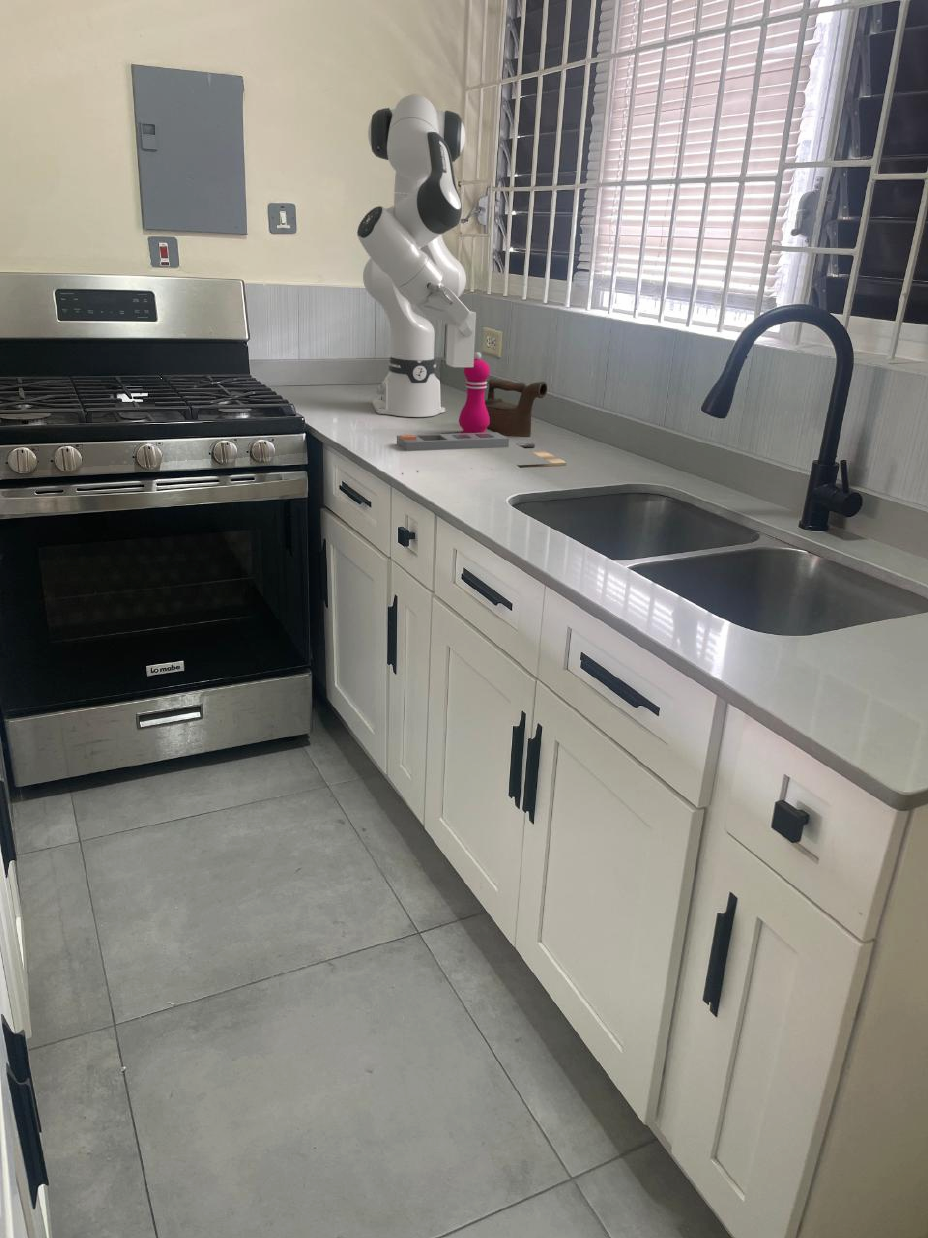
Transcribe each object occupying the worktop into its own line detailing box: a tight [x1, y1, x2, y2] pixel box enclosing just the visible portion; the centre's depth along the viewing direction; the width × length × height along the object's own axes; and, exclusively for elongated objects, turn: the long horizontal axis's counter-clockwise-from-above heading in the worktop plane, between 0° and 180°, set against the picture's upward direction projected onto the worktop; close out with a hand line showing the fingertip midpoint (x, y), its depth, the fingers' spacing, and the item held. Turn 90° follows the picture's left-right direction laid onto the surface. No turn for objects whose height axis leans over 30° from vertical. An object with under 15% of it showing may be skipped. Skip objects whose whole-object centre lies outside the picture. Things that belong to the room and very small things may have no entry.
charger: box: [445, 310, 477, 368], centre depth 196 cm, size 4×4×11 cm
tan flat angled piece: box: [516, 450, 568, 468], centre depth 203 cm, size 11×11×1 cm
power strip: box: [396, 431, 536, 452], centre depth 209 cm, size 7×32×4 cm, turn 111°
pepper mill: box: [458, 351, 491, 434], centre depth 216 cm, size 7×7×20 cm
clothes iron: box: [484, 378, 548, 438], centre depth 226 cm, size 8×16×13 cm, turn 51°
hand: (464, 333), depth 196 cm, fingers closed on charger, 4 cm apart
